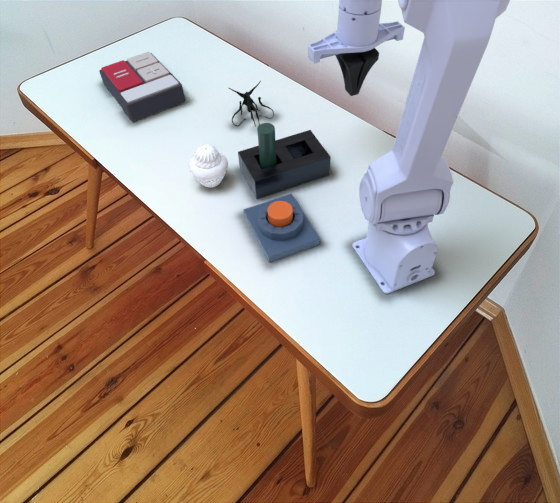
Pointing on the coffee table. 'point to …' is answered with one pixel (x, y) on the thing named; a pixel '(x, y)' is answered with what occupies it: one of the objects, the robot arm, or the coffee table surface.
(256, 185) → the holder
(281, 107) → the coffee table surface
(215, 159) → the white rounded ridged piece
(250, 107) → the creature
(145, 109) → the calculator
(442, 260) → the coffee table surface
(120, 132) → the coffee table surface
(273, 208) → the power button
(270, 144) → the green cylinder
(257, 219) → the station
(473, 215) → the coffee table surface
